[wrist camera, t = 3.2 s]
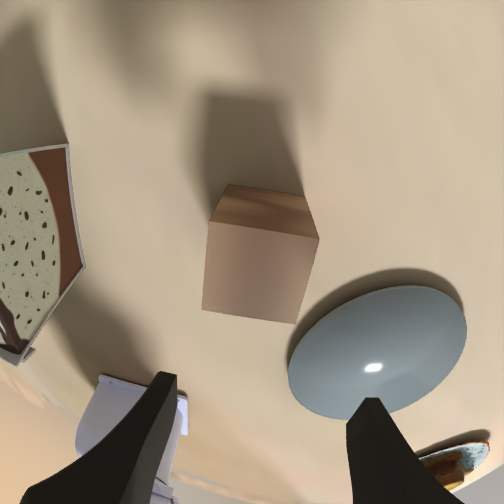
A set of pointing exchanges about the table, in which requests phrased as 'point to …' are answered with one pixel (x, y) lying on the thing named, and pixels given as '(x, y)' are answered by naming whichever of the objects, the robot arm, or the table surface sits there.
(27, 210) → the food container
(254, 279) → the walnut block
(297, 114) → the table surface
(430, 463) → the food on plate
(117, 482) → the robot arm
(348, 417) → the slate dish
